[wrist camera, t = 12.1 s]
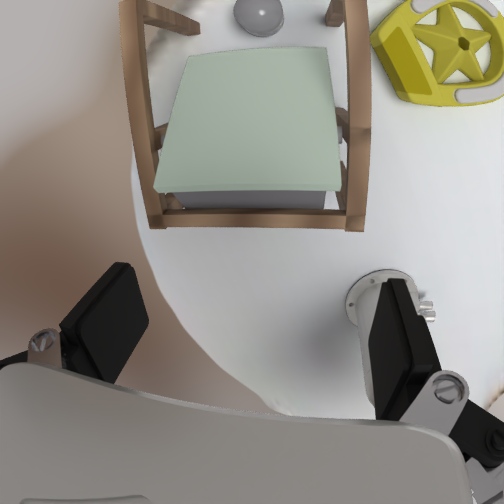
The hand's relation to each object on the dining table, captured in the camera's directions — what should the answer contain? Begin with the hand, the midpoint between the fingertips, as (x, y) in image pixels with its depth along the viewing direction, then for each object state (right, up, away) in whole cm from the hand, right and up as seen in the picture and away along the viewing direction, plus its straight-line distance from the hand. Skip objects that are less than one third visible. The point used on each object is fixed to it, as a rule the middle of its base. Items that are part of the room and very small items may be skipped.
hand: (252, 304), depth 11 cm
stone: (+1, +28, +14) cm, 31 cm away
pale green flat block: (+1, +13, +18) cm, 22 cm away
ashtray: (+25, +28, +16) cm, 41 cm away
